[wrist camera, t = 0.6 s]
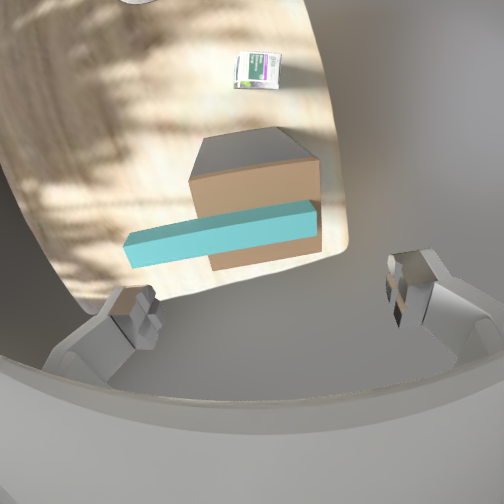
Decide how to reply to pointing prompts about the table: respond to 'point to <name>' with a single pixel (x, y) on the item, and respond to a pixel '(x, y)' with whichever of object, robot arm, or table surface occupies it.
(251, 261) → the pedestal
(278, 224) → the teal batten
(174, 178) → the table surface
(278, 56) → the syrup box
